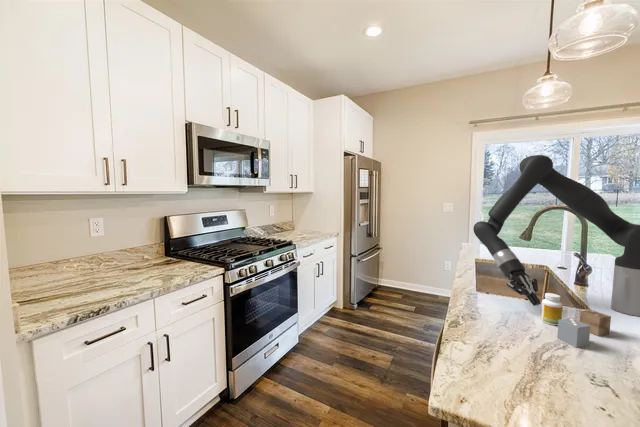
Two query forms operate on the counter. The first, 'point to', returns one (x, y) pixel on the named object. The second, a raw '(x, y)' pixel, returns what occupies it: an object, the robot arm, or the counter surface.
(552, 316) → the supplement bottle
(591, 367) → the counter surface
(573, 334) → the slate three pip block
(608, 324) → the walnut two pip block
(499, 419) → the counter surface
